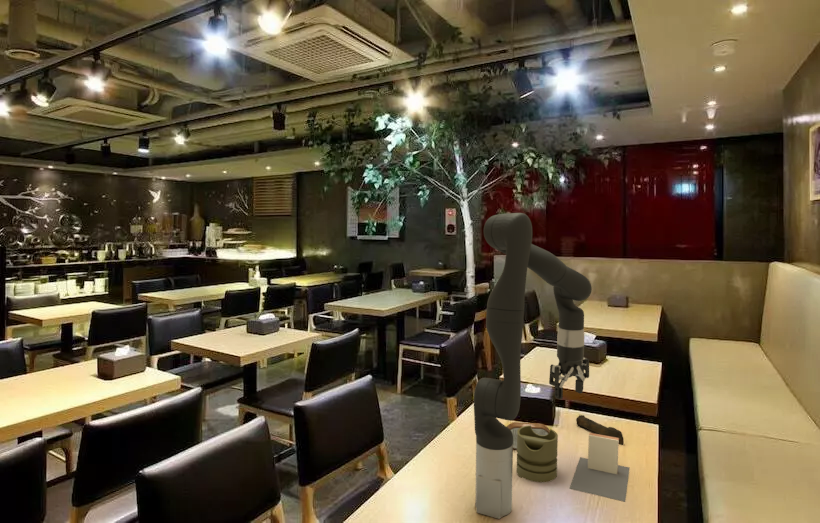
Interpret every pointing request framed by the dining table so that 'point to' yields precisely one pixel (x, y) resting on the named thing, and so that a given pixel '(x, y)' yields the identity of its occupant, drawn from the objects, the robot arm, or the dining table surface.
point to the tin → (536, 427)
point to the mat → (600, 481)
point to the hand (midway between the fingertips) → (569, 395)
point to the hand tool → (599, 428)
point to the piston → (536, 455)
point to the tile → (603, 453)
